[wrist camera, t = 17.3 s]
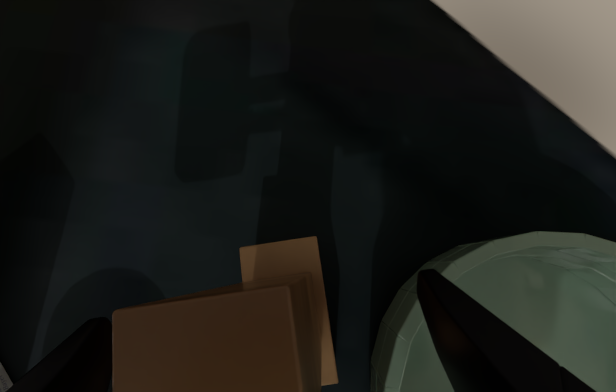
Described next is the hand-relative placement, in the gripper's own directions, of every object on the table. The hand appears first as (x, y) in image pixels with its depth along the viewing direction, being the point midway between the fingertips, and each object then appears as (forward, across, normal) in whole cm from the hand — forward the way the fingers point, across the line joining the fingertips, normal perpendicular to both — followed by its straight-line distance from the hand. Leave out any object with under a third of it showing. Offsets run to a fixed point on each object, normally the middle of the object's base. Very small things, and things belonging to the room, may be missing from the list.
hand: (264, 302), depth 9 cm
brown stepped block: (+5, 0, +6) cm, 8 cm away
